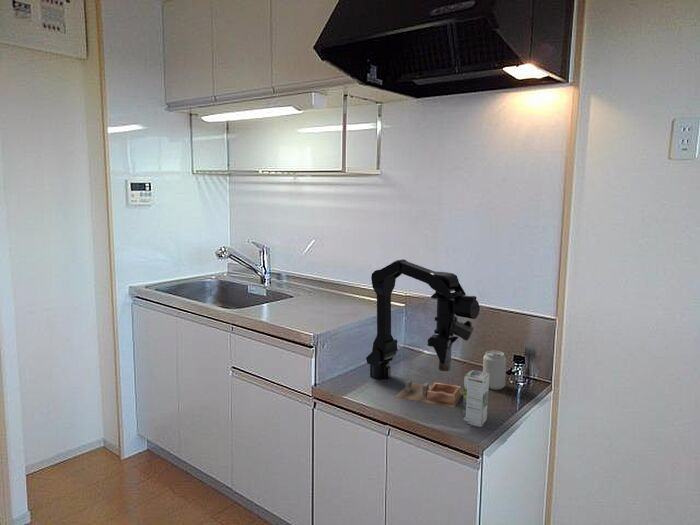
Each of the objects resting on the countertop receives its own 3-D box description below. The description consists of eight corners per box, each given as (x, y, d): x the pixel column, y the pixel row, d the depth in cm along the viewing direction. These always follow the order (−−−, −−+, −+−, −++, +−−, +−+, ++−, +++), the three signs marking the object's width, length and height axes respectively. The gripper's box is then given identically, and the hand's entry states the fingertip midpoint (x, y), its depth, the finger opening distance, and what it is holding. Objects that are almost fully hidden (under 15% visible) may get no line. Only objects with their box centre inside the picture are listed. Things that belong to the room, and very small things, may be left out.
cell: (436, 370, 164) (437, 340, 163) (440, 366, 168) (440, 337, 167) (449, 371, 163) (449, 342, 161) (452, 368, 166) (453, 339, 165)
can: (493, 392, 172) (494, 357, 171) (477, 384, 179) (478, 351, 177) (509, 388, 176) (511, 354, 174) (494, 381, 182) (495, 348, 181)
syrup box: (468, 415, 155) (469, 369, 153) (487, 420, 152) (489, 372, 150) (461, 423, 150) (463, 375, 148) (482, 428, 147) (484, 378, 145)
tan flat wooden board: (395, 399, 166) (395, 387, 166) (409, 385, 179) (409, 373, 178) (453, 410, 158) (454, 397, 158) (464, 394, 171) (464, 382, 170)
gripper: (464, 323, 151) (462, 374, 153) (477, 309, 168) (476, 356, 170) (427, 319, 156) (426, 369, 158) (444, 306, 172) (442, 352, 175)
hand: (444, 361), depth 165 cm, fingers closed on cell, 4 cm apart
